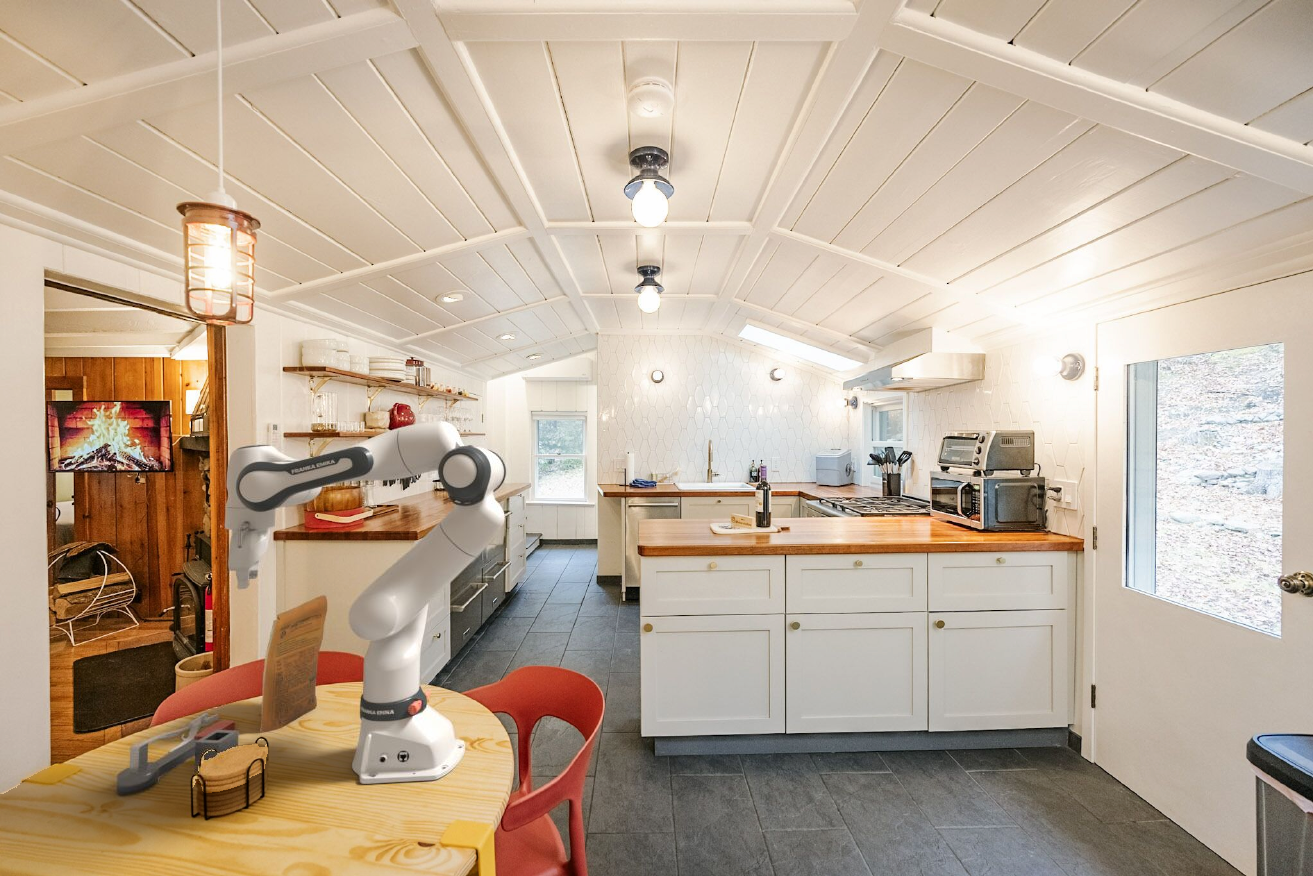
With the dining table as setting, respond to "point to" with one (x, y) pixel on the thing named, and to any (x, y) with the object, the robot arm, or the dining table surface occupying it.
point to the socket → (215, 744)
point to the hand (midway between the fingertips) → (248, 583)
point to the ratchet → (158, 763)
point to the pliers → (193, 727)
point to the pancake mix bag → (292, 664)
